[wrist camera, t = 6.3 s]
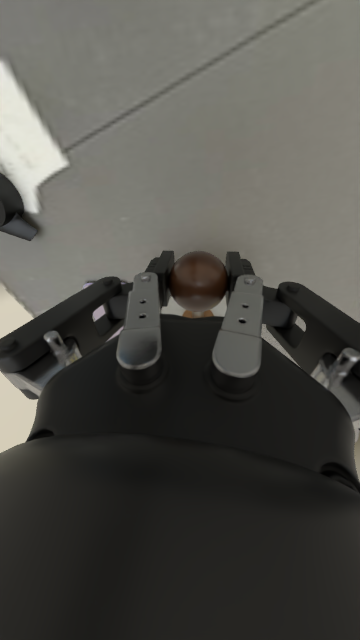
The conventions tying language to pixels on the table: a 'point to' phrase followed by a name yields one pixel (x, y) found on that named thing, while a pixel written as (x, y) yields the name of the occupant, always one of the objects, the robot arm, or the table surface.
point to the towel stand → (197, 286)
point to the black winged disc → (13, 212)
